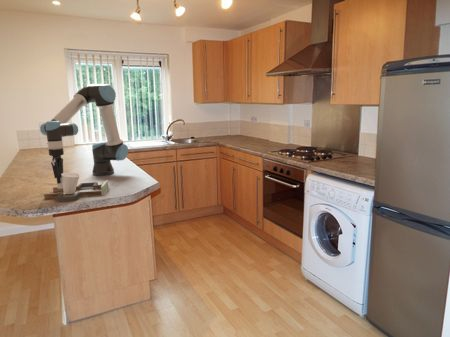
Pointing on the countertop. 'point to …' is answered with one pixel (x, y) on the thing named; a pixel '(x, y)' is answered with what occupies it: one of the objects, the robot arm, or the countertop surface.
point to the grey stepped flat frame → (86, 193)
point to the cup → (69, 182)
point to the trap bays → (77, 196)
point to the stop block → (104, 187)
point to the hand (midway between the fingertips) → (60, 188)
